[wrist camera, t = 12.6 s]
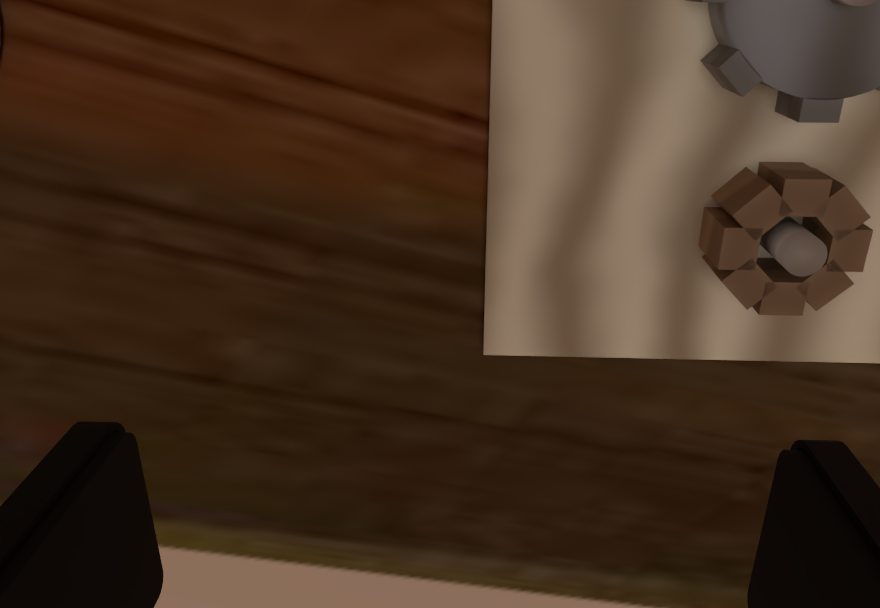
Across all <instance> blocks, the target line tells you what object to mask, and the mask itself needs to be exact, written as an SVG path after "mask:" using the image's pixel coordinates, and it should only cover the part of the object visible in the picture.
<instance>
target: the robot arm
mask: <svg viewBox="0 0 880 608" xmlns="http://www.w3.org/2000/svg"><path fill="white" fill-rule="evenodd" d="M0 46H1V27H0ZM162 583H163V569H162V564H161V559H160V554H159V549H158V544H157V539H156V534H155V529H154V524H153V519H152V514H151V510H150V505H149V500H148V495H147V490H146V485H145V480H144V475H143V470H142V465H141V460H140V455H139V451H138V446H137V441H136V438H135V436H134V435H133V434H132V433H126V432H125V429H124V428H123V426H122V425H121V424H120V423H117V422H77V423H76V424H75V425H73V426H72V427H71V428H70V430H69V431H68V432H67V433H66V434H65V435H64V436H63V437H62V438H61V440H60V441H59V442H58V443H57V444H56V445H55V446H54V447H53V448H52V450H51V451H50V452H49V453H48V454H47V455H46V456H45V457H44V458H43V460H42V461H41V462H40V463H39V464H38V465H37V466H36V467H35V469H34V470H33V471H32V472H31V473H30V474H29V475H28V476H27V477H26V479H25V480H24V481H23V482H22V483H21V484H20V485H19V486H18V487H17V489H16V490H15V491H14V492H13V493H12V494H11V495H10V496H9V497H8V499H7V500H6V501H5V502H4V503H3V504H2V505H1V506H0V608H154V606H155V604H156V602H157V600H158V598H159V595H160V593H161V589H162ZM748 608H880V488H879V487H878V485H877V484H876V483H875V482H874V480H873V479H872V478H871V477H870V475H869V474H868V473H867V471H866V470H865V469H864V468H863V466H862V465H861V464H860V462H859V461H858V460H857V459H856V457H855V456H854V455H853V454H852V452H851V451H850V450H849V448H848V447H847V446H846V445H845V444H844V443H843V442H840V441H827V440H798V441H795V442H794V444H793V445H792V447H791V450H783V451H782V452H781V453H780V454H779V457H778V461H777V465H776V470H775V474H774V479H773V483H772V487H771V492H770V496H769V501H768V505H767V509H766V514H765V518H764V523H763V527H762V531H761V536H760V540H759V545H758V549H757V553H756V558H755V562H754V567H753V571H752V575H751V580H750V584H749V589H748Z"/></svg>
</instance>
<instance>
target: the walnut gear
mask: <svg viewBox="0 0 880 608" xmlns="http://www.w3.org/2000/svg"><path fill="white" fill-rule="evenodd" d="M711 196H712V197H713V198H714V199H715V200H716V202H717V203H718V204H719V205H720V206H721V207H704V212H703V218H702V225H701V232H700V238H699V245H698V246H699V247H700V249H701V250H702V251H703V252H704V253H705V255H703V256H702V258H703V259H704V261H705V262H706V263H707V264H708V266H709V267H710V268H711V269H712V271H713V272H714V273H715V274H716V276H717V277H718V278H719V279H720V281H721V282H722V283H723V284H724V285H725V286H726V287H727V289H728V290H729V291H730V292H731V293H732V294H733V295H734V296H735V297H736V298H737V299H738V301H739V302H740V303H741V304H742V305H743V306H744V307H745V308H746V309H747V310H748V309H749V308H751V307H753V308H754V310H755V311H756V312H757V313H758V314H759V315H785V316H803V311H804V307H805V302H807V303H808V304H809V305H810V306H811V307H812V308H813V309H814V310H815V311H817V310H819V309H820V308H822V307H823V306H824V305H826V304H827V303H829V302H830V301H831V300H833V299H834V298H835V297H837V296H838V295H840V294H841V293H842V292H844V291H845V290H847V289H848V288H849V287H851V286H852V285H853V284H854V283H853V282H852V280H851V279H850V278H849V277H848V276H847V274H846V273H845V272H863V269H864V265H865V261H866V257H867V253H868V249H869V245H870V242H871V238H872V234H873V229H871V228H870V227H868V226H866V225H865V224H863V223H864V222H865V221H867V220H868V219H869V218H871V217H870V215H869V214H868V213H867V212H866V210H865V209H864V208H863V207H862V205H861V204H860V203H859V202H858V201H857V199H856V198H855V197H854V196H853V194H852V193H851V192H850V191H849V189H848V188H847V187H846V186H845V185H844V184H842V183H840V182H839V181H837V180H835V179H833V178H832V177H830V176H828V175H826V174H825V173H823V172H821V171H819V170H818V169H816V168H812V167H810V166H808V165H806V164H805V163H803V162H759V166H758V172H757V174H755V173H754V172H752V171H751V170H750V169H748V168H747V167H745V168H744V169H742V170H741V171H740V172H739V173H738V174H736V175H735V176H734V177H733V178H732V179H730V180H729V181H728V182H727V183H726V184H724V185H723V186H722V187H721V188H719V189H718V190H717V191H716V192H715V193H713V194H712V195H711ZM786 216H797V217H803V221H802V226H803V227H804V228H806V229H807V230H808V231H809V232H811V233H812V234H813V235H815V236H816V237H817V238H819V239H820V240H821V241H822V242H823V243H824V244H825V245H826V248H827V259H826V262H825V263H824V265H823V266H822V268H821V269H820V270H818V271H817V272H815V273H814V274H812V275H809V276H803V277H800V276H795V275H792V274H791V273H789V272H788V271H787V270H786V269H785V268H784V267H783V266H782V265H781V264H780V263H779V262H778V261H777V260H776V259H775V258H757V256H758V251H759V246H760V240H761V236H762V235H763V234H764V233H766V232H767V231H768V230H770V229H771V228H772V227H773V226H775V225H776V224H777V223H778V222H780V221H781V220H782V219H784V218H785V217H786Z"/></svg>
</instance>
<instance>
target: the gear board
mask: <svg viewBox="0 0 880 608" xmlns="http://www.w3.org/2000/svg"><path fill="white" fill-rule="evenodd" d="M759 162H803V163H805V164H806V165H808V166H810V167H812V168H816V169H818V170H819V171H821V172H823V173H825V174H826V175H828V176H830V177H832V178H833V179H835V180H837V181H839V182H840V183H842V184H844V185H845V186H846V187H847V188H848V189H849V191H850V192H851V193H852V194H853V196H854V197H855V198H856V199H857V201H858V202H859V203H860V204H861V205H862V207H863V208H864V209H865V210H866V212H867V213H868V214H869V215H870V217H871V218H869V219H868V220H867V221H865V222H864V223H863V224H865V225H866V226H868V227H870V228H871V229H873V234H872V238H871V242H870V245H869V249H868V253H867V257H866V261H865V265H864V269H863V272H845V273H846V274H847V276H848V277H849V278H850V279H851V280H852V282H853V283H854V284H853V285H852V286H851V287H849V288H848V289H847V290H845V291H844V292H842V293H841V294H840V295H838V296H837V297H835V298H834V299H833V300H831V301H830V302H829V303H827V304H826V305H824V306H823V307H822V308H820V309H819V310H817V311H815V310H814V309H813V308H812V307H811V306H810V305H809V304H808V303H807V302H805V307H804V311H803V316H785V315H759V314H758V313H757V312H756V311H755V310H754V308H753V307H751V308H749V309H748V310H747V309H746V308H745V307H744V306H743V305H742V304H741V303H740V302H739V301H738V299H737V298H736V297H735V296H734V295H733V294H732V293H731V292H730V291H729V290H728V289H727V287H726V286H725V285H724V284H723V283H722V282H721V281H720V279H719V278H718V277H717V276H716V274H715V273H714V272H713V271H712V269H711V268H710V267H709V266H708V264H707V263H706V262H705V261H704V259H703V258H702V256H703V255H705V253H704V252H703V251H702V250H701V249H700V247H699V246H698V245H699V238H700V232H701V225H702V218H703V212H704V207H721V206H720V205H719V204H718V203H717V202H716V200H715V199H714V198H713V197H712V196H711V195H712V194H713V193H715V192H716V191H717V190H718V189H719V188H721V187H722V186H723V185H724V184H726V183H727V182H728V181H729V180H730V179H732V178H733V177H734V176H735V175H736V174H738V173H739V172H740V171H741V170H742V169H744V168H745V167H747V168H748V169H750V170H751V171H752V172H754V173H755V174H757V172H758V166H759ZM802 221H803V217H797V216H786V217H785V218H784V219H782V220H781V221H780V222H778V223H777V224H776V225H775V226H773V227H772V228H771V229H770V230H768V231H767V232H766V233H764V234H763V235H762V236H761V240H760V246H759V251H758V256H757V258H775V259H776V260H777V261H778V262H779V263H780V264H781V265H782V266H783V267H784V268H785V269H786V270H787V271H788V272H789V273H791V274H792V275H795V276H800V277H803V276H809V275H812V274H814V273H815V272H817V271H818V270H820V269H821V268H822V266H823V265H824V263H825V262H826V259H827V248H826V245H825V244H824V243H823V242H822V241H821V240H820V239H819V238H817V237H816V236H815V235H813V234H812V233H811V232H809V231H808V230H807V229H806V228H804V227H803V226H802ZM483 355H514V356H561V357H609V358H657V359H704V360H752V361H799V362H847V363H880V0H492V35H491V73H490V111H489V149H488V188H487V226H486V264H485V303H484V341H483Z"/></svg>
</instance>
